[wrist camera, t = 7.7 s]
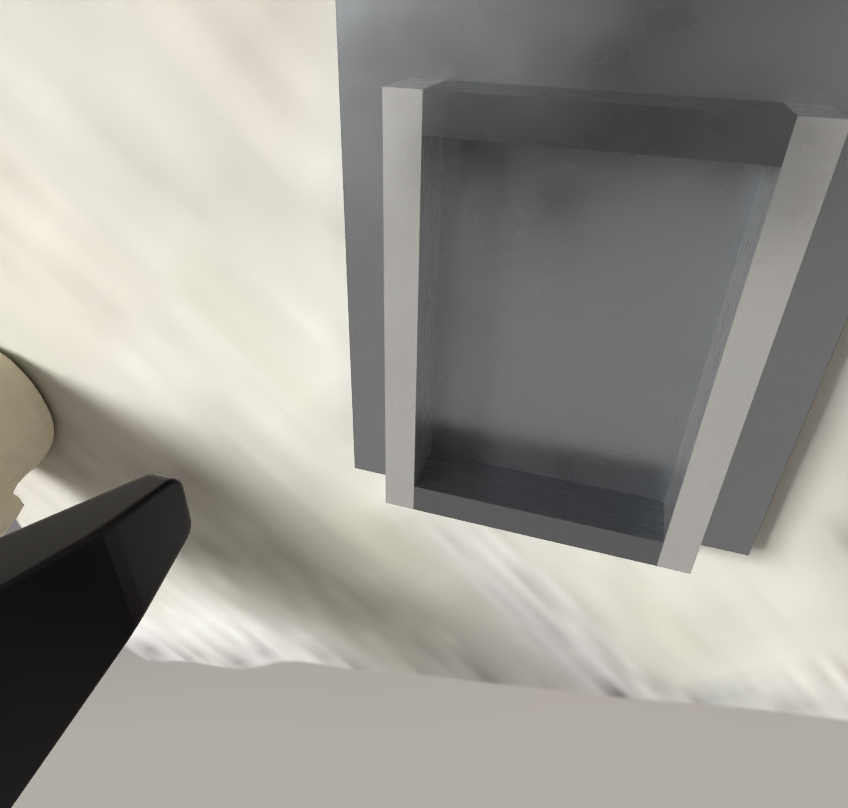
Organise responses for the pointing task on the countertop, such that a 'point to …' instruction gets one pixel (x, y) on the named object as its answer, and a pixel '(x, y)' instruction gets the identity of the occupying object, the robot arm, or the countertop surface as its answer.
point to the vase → (19, 435)
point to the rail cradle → (592, 258)
